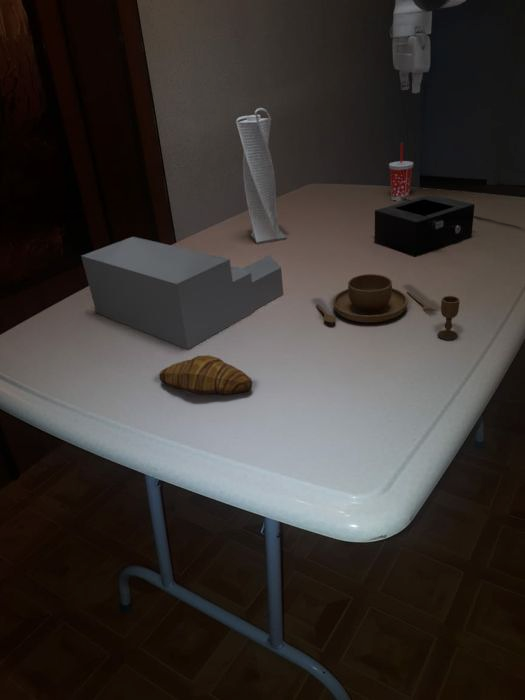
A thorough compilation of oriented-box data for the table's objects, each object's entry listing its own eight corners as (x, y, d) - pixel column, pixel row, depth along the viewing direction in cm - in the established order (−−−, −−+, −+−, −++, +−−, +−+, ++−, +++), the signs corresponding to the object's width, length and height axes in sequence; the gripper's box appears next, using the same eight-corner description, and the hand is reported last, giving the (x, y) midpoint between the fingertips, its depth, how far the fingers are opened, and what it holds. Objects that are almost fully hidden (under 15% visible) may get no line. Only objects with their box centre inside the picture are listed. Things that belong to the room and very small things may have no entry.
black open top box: (428, 225, 126) (430, 194, 122) (476, 238, 115) (479, 205, 112) (374, 242, 119) (374, 210, 116) (419, 258, 109) (421, 223, 105)
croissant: (150, 397, 75) (142, 365, 72) (173, 370, 80) (166, 340, 78) (243, 409, 70) (238, 375, 68) (260, 380, 76) (257, 348, 73)
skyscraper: (288, 240, 125) (278, 106, 111) (253, 246, 124) (239, 111, 110) (278, 230, 132) (267, 103, 119) (245, 236, 131) (230, 108, 117)
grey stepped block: (284, 294, 100) (279, 235, 94) (188, 349, 85) (176, 283, 80) (191, 269, 115) (182, 218, 110) (96, 313, 101) (81, 255, 95)
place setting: (405, 286, 98) (406, 255, 95) (465, 337, 81) (468, 300, 78) (309, 304, 95) (307, 272, 92) (350, 360, 78) (349, 323, 75)
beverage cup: (404, 194, 149) (406, 139, 143) (416, 199, 144) (419, 142, 137) (383, 198, 148) (384, 143, 141) (395, 203, 143) (397, 146, 136)
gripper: (439, 25, 123) (435, 93, 130) (413, 26, 141) (411, 86, 148) (410, 28, 123) (408, 96, 130) (388, 29, 141) (387, 89, 148)
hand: (409, 91), depth 139 cm, fingers open, 8 cm apart
